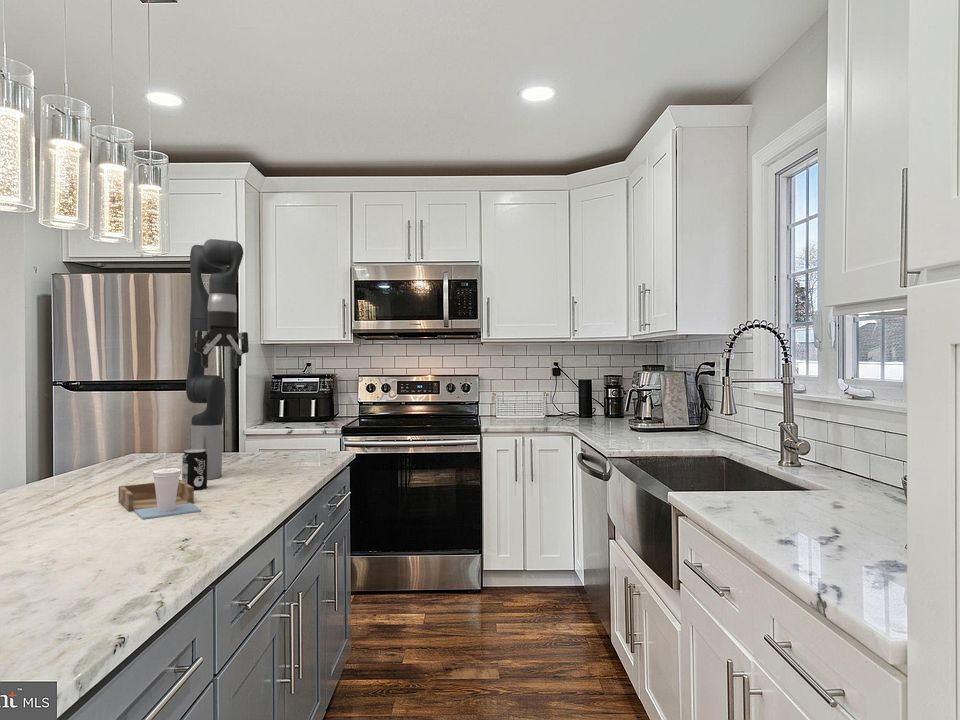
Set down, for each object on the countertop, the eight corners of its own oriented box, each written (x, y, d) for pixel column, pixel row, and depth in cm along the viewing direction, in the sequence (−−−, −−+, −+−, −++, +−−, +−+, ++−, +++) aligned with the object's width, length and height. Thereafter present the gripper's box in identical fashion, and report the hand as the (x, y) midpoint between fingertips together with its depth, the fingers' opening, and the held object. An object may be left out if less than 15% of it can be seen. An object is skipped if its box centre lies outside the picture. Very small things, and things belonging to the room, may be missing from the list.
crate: (118, 505, 163) (118, 486, 163) (180, 497, 173) (180, 479, 173) (128, 515, 153) (128, 494, 153) (193, 506, 163) (193, 487, 163)
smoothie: (145, 510, 152) (146, 453, 152) (169, 505, 158) (170, 450, 158) (162, 514, 149) (163, 455, 149) (186, 508, 155) (187, 452, 155)
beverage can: (211, 489, 184) (211, 449, 184) (199, 494, 178) (199, 452, 178) (190, 488, 185) (190, 448, 185) (177, 493, 178) (177, 451, 178)
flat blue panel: (133, 508, 154) (142, 517, 146) (189, 501, 162) (201, 509, 154) (133, 514, 154) (142, 522, 146) (189, 506, 162) (201, 514, 154)
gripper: (199, 308, 169) (198, 368, 169) (252, 311, 178) (251, 368, 178) (191, 309, 175) (190, 367, 175) (243, 312, 184) (242, 367, 184)
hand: (221, 368), depth 176 cm, fingers open, 8 cm apart
